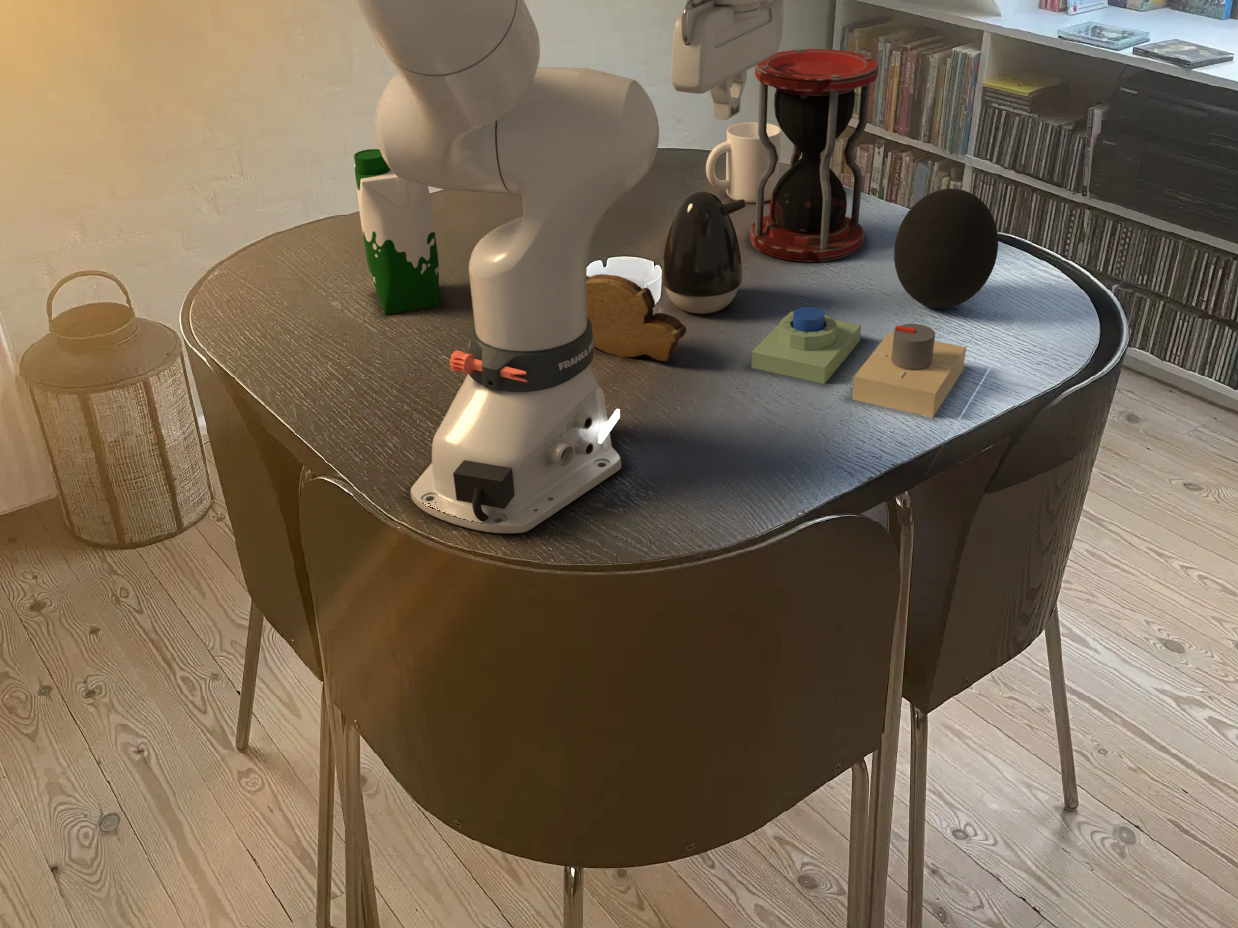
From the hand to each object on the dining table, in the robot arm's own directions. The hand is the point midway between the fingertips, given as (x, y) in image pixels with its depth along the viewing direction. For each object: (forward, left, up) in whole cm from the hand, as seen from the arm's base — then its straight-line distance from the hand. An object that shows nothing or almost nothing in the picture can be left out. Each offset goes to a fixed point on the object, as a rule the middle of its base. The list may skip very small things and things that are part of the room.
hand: (727, 116), depth 127 cm
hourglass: (+35, +3, -28) cm, 45 cm away
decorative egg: (+22, -20, -28) cm, 41 cm away
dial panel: (0, -23, -28) cm, 36 cm away
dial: (0, -23, -25) cm, 34 cm away
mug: (+48, +19, -28) cm, 59 cm away
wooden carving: (-7, +10, -28) cm, 30 cm away
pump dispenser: (+9, +7, -28) cm, 30 cm away
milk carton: (-6, +43, -28) cm, 52 cm away
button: (+2, -10, -24) cm, 26 cm away
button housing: (+2, -10, -28) cm, 29 cm away
